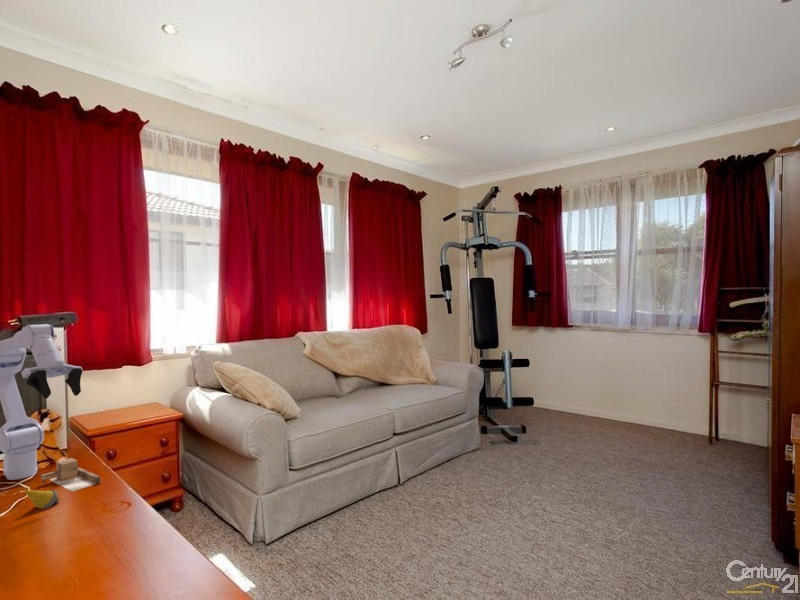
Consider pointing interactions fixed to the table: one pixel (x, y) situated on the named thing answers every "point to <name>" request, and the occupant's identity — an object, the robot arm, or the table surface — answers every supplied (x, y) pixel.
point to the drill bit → (42, 498)
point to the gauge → (64, 470)
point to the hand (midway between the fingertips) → (63, 394)
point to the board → (79, 480)
